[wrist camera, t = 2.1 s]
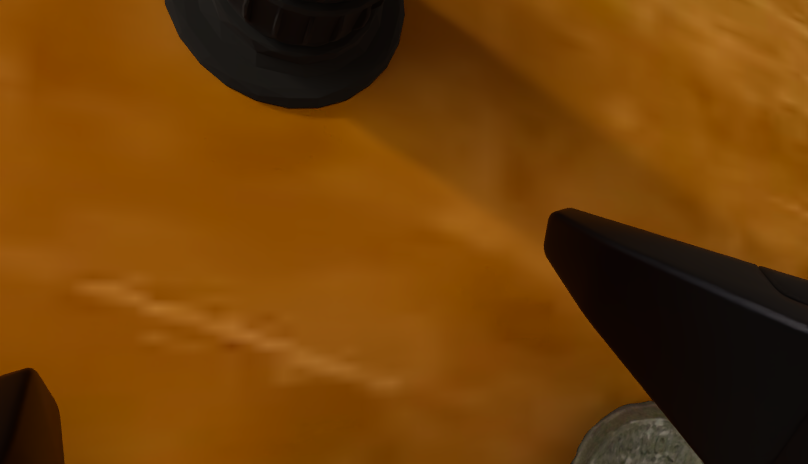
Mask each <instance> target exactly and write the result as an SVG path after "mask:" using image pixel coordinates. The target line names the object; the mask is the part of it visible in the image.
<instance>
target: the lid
mask: <svg viewBox="0 0 808 464" xmlns="http://www.w3.org/2000/svg"><path fill="white" fill-rule="evenodd" d="M571 464H704V463H703V462H702V461H701V460H700V458H699V457H698V456H697V455H696V453H695V452H694V451H693V450H692V448H691V447H690V446H689V445H688V443H687V442H686V441H685V440H684V438H683V437H682V436H681V435H680V434H679V432H678V431H677V430H676V429H675V427H674V426H673V425H672V424H671V422H670V421H669V420H668V419H667V417H666V416H665V415H664V414H663V412H662V411H661V410H660V409H659V407H658V406H657V405H656V404H655V403H654V401H647V402H642V403H635V404H627V405H624V406H622V407H619V408H617V409H615V410H614V411H612V412H611V413H609V414H608V415H607V416H605V417H604V418H603V419H601V420H600V421H599V422H598V423H597V424H596V425H595V426H593V427H592V428H591V429H590V430H589V431H588V432H587V433H586V435H585V436H584V438H583V440H582V442H581V443H580V445H579V447H578V449H577V453H576V456H575V458H574V459H573V461H572V462H571Z"/></svg>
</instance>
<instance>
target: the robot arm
mask: <svg viewBox="0 0 808 464" xmlns="http://www.w3.org/2000/svg"><path fill="white" fill-rule="evenodd" d="M544 252H545V255H546V257H547V259H548V260H549V262H550V263H551V265H552V267H553V268H554V270H555V271H556V273H557V274H558V276H559V277H560V279H561V280H562V282H563V283H564V285H565V287H566V288H567V290H568V291H569V293H570V294H571V296H572V297H573V299H574V300H575V302H576V303H577V305H578V307H579V308H580V309H581V311H582V312H583V314H584V315H585V317H586V318H587V319H588V320H589V322H590V323H591V324H592V326H593V327H594V328H595V329H596V331H597V332H598V333H599V334H600V336H601V337H602V338H603V339H604V341H605V342H606V343H607V344H608V346H609V347H610V348H611V349H612V350H613V352H614V353H615V354H616V355H617V357H618V358H619V359H620V360H621V362H622V363H623V364H624V365H625V367H626V368H627V369H628V370H629V372H630V373H631V374H632V375H633V377H634V378H635V379H636V380H637V381H638V383H639V384H640V385H641V386H642V388H643V389H644V390H645V391H646V393H647V394H648V395H649V396H650V398H651V399H652V400H653V401H654V403H655V404H656V405H657V406H658V407H659V409H660V410H661V411H662V412H663V414H664V415H665V416H666V417H667V419H668V420H669V421H670V422H671V424H672V425H673V426H674V427H675V429H676V430H677V431H678V432H679V434H680V435H681V436H682V437H683V438H684V440H685V441H686V442H687V443H688V445H689V446H690V447H691V448H692V450H693V451H694V452H695V453H696V455H697V456H698V457H699V458H700V460H701V461H702V462H703V463H704V464H808V280H805V279H802V278H799V277H795V276H792V275H788V274H785V273H782V272H778V271H775V270H772V269H769V268H765V267H762V266H759V267H758V266H757V265H755V264H752V263H749V262H746V261H742V260H739V259H736V258H733V257H729V256H726V255H723V254H720V253H716V252H713V251H710V250H707V249H703V248H700V247H697V246H694V245H690V244H687V243H684V242H681V241H677V240H674V239H671V238H668V237H664V236H661V235H658V234H655V233H651V232H648V231H645V230H642V229H638V228H635V227H632V226H629V225H625V224H622V223H619V222H616V221H612V220H609V219H606V218H603V217H599V216H596V215H593V214H590V213H586V212H583V211H580V210H577V209H573V208H566V209H562V210H559V211H556V212H553V213H552V214H551V215H550V217H549V219H548V224H547V230H546V235H545V241H544ZM0 464H64V453H63V443H62V432H61V421H60V414H59V409H58V406H57V404H56V402H55V400H54V398H53V397H52V395H51V393H50V392H49V390H48V389H47V387H46V385H45V384H44V382H43V381H42V379H41V377H40V376H39V374H38V373H37V372H36V371H35V370H34V369H32V368H25V369H21V370H18V371H15V372H11V373H8V374H5V375H2V376H0Z"/></svg>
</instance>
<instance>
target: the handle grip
mask: <svg viewBox="0 0 808 464" xmlns="http://www.w3.org/2000/svg"><path fill="white" fill-rule="evenodd" d="M165 5H166V8H167V10H168V12H169V14H170V17H171V19H172V21H173V23H174V26H175V28H176V30H177V32H178V35H179V37H180V38H181V39H182V41H183V42H184V43H185V45H186V46H187V47H188V48H189V50H190V51H191V52H192V54H193V55H194V56H195V57H196V59H197V60H198V61H199V63H200V64H201V65H202V66H204V67H205V68H206V69H207V70H208V71H210V72H211V73H212V74H213V75H214V76H216V77H217V78H218V79H219V80H220V81H222V82H223V83H224V84H225V85H227V86H229V87H231V88H233V89H235V90H237V91H239V92H241V93H243V94H245V95H246V96H248V97H250V98H252V99H254V100H257V101H261V102H265V103H269V104H274V105H278V106H282V107H287V108H319V107H322V106H326V105H330V104H333V103H337V102H341V101H344V100H347V99H348V98H350V97H352V96H353V95H355V94H356V93H358V92H360V91H361V90H363V89H364V88H366V87H368V86H369V85H370V84H371V83H372V82H373V81H374V80H375V79H376V78H377V77H378V76H379V75H380V74H381V73H382V72H383V71H384V70H385V69H386V68H387V66H388V64H389V62H390V60H391V58H392V56H393V54H394V52H395V50H396V48H397V46H398V44H399V40H400V35H401V30H402V25H403V21H404V16H405V13H404V0H165Z"/></svg>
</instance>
